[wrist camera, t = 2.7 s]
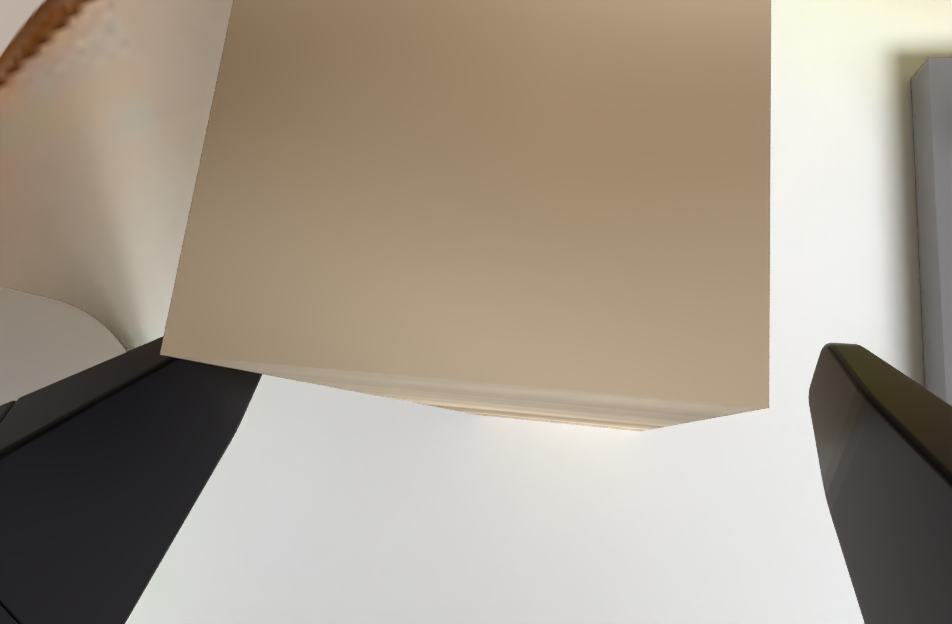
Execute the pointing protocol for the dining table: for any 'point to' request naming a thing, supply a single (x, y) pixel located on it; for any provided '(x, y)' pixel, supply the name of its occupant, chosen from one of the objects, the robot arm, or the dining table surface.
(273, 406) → the dining table surface
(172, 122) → the dining table surface
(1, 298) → the cylinder vase
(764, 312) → the maple block
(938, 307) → the plate
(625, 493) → the dining table surface
